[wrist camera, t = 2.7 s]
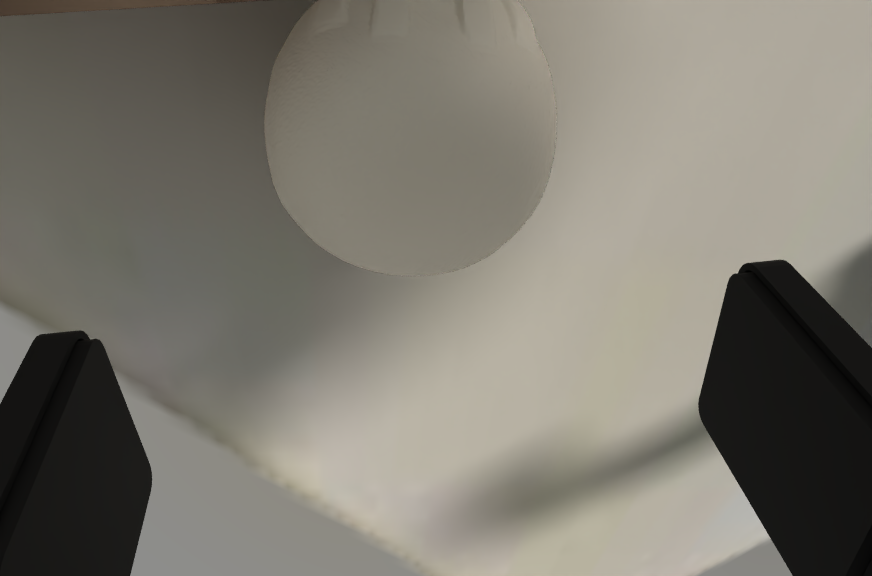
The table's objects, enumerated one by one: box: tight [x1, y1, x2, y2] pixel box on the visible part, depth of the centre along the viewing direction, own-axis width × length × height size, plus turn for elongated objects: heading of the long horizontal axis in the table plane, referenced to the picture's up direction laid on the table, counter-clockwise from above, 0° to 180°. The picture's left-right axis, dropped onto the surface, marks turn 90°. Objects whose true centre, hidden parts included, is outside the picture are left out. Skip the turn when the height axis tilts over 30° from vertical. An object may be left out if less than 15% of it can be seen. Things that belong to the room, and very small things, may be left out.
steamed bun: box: [264, 0, 557, 276], centre depth 17 cm, size 7×7×7 cm
